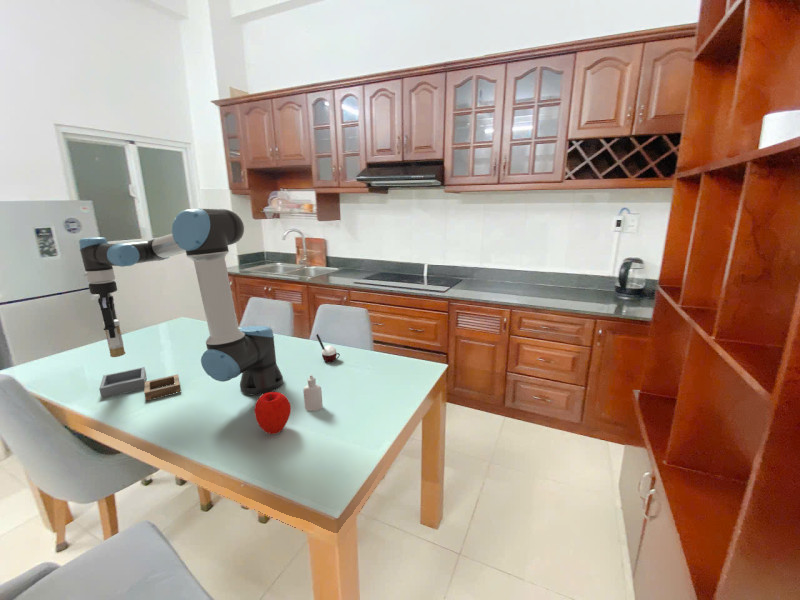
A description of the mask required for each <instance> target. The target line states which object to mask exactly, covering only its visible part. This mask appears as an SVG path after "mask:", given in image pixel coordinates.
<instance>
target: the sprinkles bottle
mask: <svg viewBox="0 0 800 600" xmlns="http://www.w3.org/2000/svg"><path fill="white" fill-rule="evenodd" d="M114 323H115V326H116V329H117V334H118V338H119V343H120V345H118V346H112V347H110V343H109V339H108V334H107V330H104V331H105V332H104V333H105V335H106V336H105V337H106V341H107V345H108V346H107V347H108V349H109V350H108V351H109V356H110V357H111V358H117V357H118V358H119V357H122V356H124V355H125V354H126V351H125V346H124V341H123V337H122V332H121V328H120V320H119V319H117V320H116V319H114ZM102 326H103V329H105V324H104V321H103V322H102Z"/></svg>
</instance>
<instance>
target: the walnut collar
mask: <svg viewBox="0 0 800 600" xmlns="http://www.w3.org/2000/svg"><path fill="white" fill-rule="evenodd" d="M174 383H175V384H174ZM170 384H172V385H170ZM166 385H168V386H166ZM162 386H164V387H162ZM158 387H160V388H158ZM155 388H156V389H155ZM143 391H144V397H145V401H147V400H148V401H151V400H150V399H152V400H154V398H156V399H159V398H158V397H160V398H162V397H161V396H164V397H166V396H165V395H168V396H170V395H169V394H172V395H174V394H173V393H176V392H180V391H181V392H182V388H181V382H180V377H179V374H174V375H173V374H172V375H169V376H164V377H160V378H155V379H152V380H146V382H145V388H144V390H143ZM181 392H180V393H181ZM176 394H177V393H176Z"/></svg>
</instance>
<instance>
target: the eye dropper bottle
mask: <svg viewBox="0 0 800 600" xmlns="http://www.w3.org/2000/svg"><path fill="white" fill-rule="evenodd" d="M322 394H323V393H322V387H321V385H319V384H317V382H316V378H315V377H314V375H313V374H310V375H309V378H308V379H307V385H305V386H304V387H303V402H304V409H305V410H306V411H309V412H317V411H321V410H322V408H323V406H324V405H323V395H322Z"/></svg>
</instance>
